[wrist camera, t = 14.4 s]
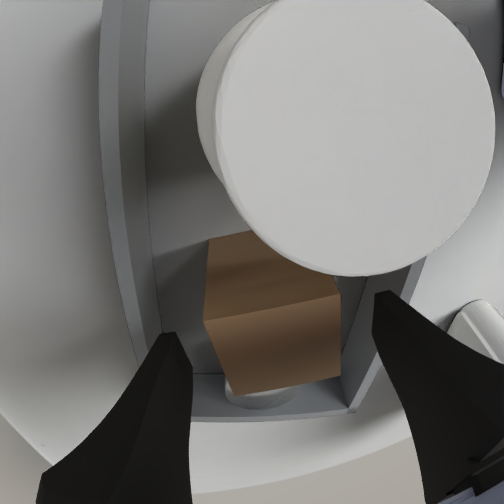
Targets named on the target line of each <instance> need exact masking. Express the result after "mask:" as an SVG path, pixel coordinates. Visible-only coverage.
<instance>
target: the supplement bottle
mask: <svg viewBox="0 0 504 504" xmlns="http://www.w3.org/2000/svg"><path fill="white" fill-rule="evenodd" d="M196 115H197V125H198V133H199V137H200V141H201V144H202V147H203V150H204V153H205V155H206V157H207V160H208V161H209V163H210V165H211V167H212V169H213V171H214V173H215V174H216V176H217V177H218V178H219V180H220V181H221V182H222V184H223V185H224V187H225V189H226V191H227V194H228V196H229V198H230V199H231V201H232V203H233V205H234V206H235V208H236V210H237V211H238V213H239V214H240V215H241V217H242V218H243V220H244V221H245V222H246V224H247V225H248V226H249V227H250V228H251V229H252V230H253V231H254V232H255V233H256V235H257V236H258V237H259V238H260V239H261V240H262V241H263V242H265V243H266V244H267V245H268V246H270V247H271V248H272V249H274V250H275V251H276V252H278V253H279V254H280V255H282V256H284V257H285V258H287V259H289V260H291V261H293V262H295V263H297V264H299V265H301V266H303V267H306V268H309V269H311V270H314V271H318V272H322V273H325V274H330V275H339V276H349V277H355V276H370V275H377V274H383V273H388V272H391V271H394V270H398V269H401V268H403V267H405V266H408V265H410V264H412V263H414V262H416V261H418V260H420V259H421V258H423V257H425V256H427V255H428V254H430V253H431V252H433V251H434V250H435V249H436V248H438V247H439V246H441V245H442V244H443V243H444V242H445V241H447V240H448V239H449V238H450V237H451V236H452V235H453V234H454V233H455V232H456V230H457V229H458V228H459V227H460V226H461V225H462V224H463V222H464V221H465V220H466V218H467V217H468V215H469V214H470V212H471V211H472V209H473V208H474V206H475V205H476V203H477V201H478V199H479V197H480V195H481V193H482V191H483V188H484V186H485V183H486V180H487V177H488V174H489V171H490V167H491V163H492V158H493V153H494V145H495V112H494V105H493V100H492V95H491V91H490V87H489V84H488V81H487V78H486V75H485V72H484V70H483V68H482V65H481V63H480V62H479V60H478V58H477V56H476V54H475V52H474V50H473V49H472V47H471V46H470V45H469V43H468V42H467V40H466V39H465V37H464V36H463V35H462V34H461V32H460V31H459V30H458V29H457V28H456V27H455V25H454V24H453V23H452V22H451V21H450V20H449V19H447V18H446V17H445V16H444V15H443V14H442V13H441V12H440V11H438V10H437V9H436V8H434V7H433V6H432V5H430V4H429V3H427V2H426V1H424V0H277V1H275V2H272V3H269V4H267V5H265V6H263V7H261V8H259V9H257V10H255V11H253V12H252V13H250V14H249V15H247V16H246V17H244V18H243V19H241V20H240V21H239V22H238V23H237V24H236V25H234V26H233V27H232V28H231V29H230V30H229V31H228V33H227V34H226V35H225V36H224V37H223V38H222V40H221V41H220V42H219V44H218V45H217V46H216V48H215V49H214V51H213V52H212V54H211V55H210V57H209V59H208V61H207V63H206V65H205V67H204V70H203V73H202V75H201V78H200V82H199V86H198V91H197V98H196Z"/></svg>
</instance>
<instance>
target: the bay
mask: <svg viewBox="0 0 504 504" xmlns="http://www.w3.org/2000/svg"><path fill="white" fill-rule="evenodd" d="M148 10H149V0H103V8H102V19H101V32H100V49H99V130H100V149H101V162H102V174H103V185H104V194H105V203H106V211H107V218H108V226H109V232H110V239H111V245H112V251H113V257H114V263H115V268H116V274H117V279H118V284H119V289H120V294H121V298H122V303H123V307H124V312H125V316H126V320H127V324H128V329H129V333H130V337H131V340H132V344H133V348H134V352H135V355H136V359H137V363H138V366H139V367H140V366H141V364H142V363H143V361H144V359H145V357H146V356H147V354H148V352H149V351H150V349H151V347H152V345H153V344H154V342H155V340H156V339H157V337H158V336H159V334H161V333H163V332H162V326H161V320H160V313H159V306H158V299H157V292H156V284H155V276H154V268H153V259H152V249H151V239H150V228H149V216H148V203H147V187H146V168H145V137H144V84H145V54H146V36H147V22H148ZM453 24H454V25H455V27H456V28H457V29H458V30H459V31H460V32H461V34H462V35H463V36H464V37H465V39H466V40H467V42H468V43H469V32H470V29H469V28H467V27H465V26H463V25H461V24H459V23H457V22H455V23H453ZM426 257H427V256H425V257H423V258H421V259H420V260H418V261H416V262H414V263H412V264H410V265H408V266H405V267H403V268H401V269H398V270H394V271H391V272H388V273H383V274H377V275H370V276H368V278H367V281H366V284H365V288H364V291H363V294H362V297H361V300H360V303H359V307H358V310H357V313H356V316H355V319H354V322H353V324H352V327H351V330H350V333H349V336H348V339H347V342H346V344H345V347H344V350H343V353H342V355H341V375H340V376H336V377H332V378H327V379H323V380H319V381H315V382H310V383H306V384H301V385H299V390H298V392H297V394H296V395H295V396H294V397H293V398H292V399H291V400H290V401H288V402H287V403H285V404H283V405H281V406H278V407H275V408H271V409H265V410H249V409H244V408H241V407H238V406H236V405H234V404H232V403H231V402H230V401H229V400H228V399H227V397H226V395H225V374H193V401H192V412H191V422H264V421H282V420H296V419H307V418H317V417H326V416H334V415H341V414H349V413H355V412H356V410H357V408H358V407H359V405H360V403H361V401H362V400H363V398H364V396H365V394H366V392H367V391H368V389H369V387H370V385H371V383H372V381H373V379H374V377H375V376H376V374H377V372H378V370H379V368H380V366H381V364H382V361H381V359H380V357H379V354H378V351H377V348H376V346H375V343H374V340H373V337H372V334H371V331H372V320H373V309H374V295H375V293H378V292H382V291H386V290H391V291H392V292H394V293H395V294H396V295H397V296H399V297H400V298H401V299H402V300H404V301H405V302H406V303H407V304H409V302H410V300H411V297H412V295H413V292H414V289H415V287H416V284H417V282H418V279H419V276H420V274H421V271H422V268H423V265H424V263H425V260H426Z"/></svg>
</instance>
